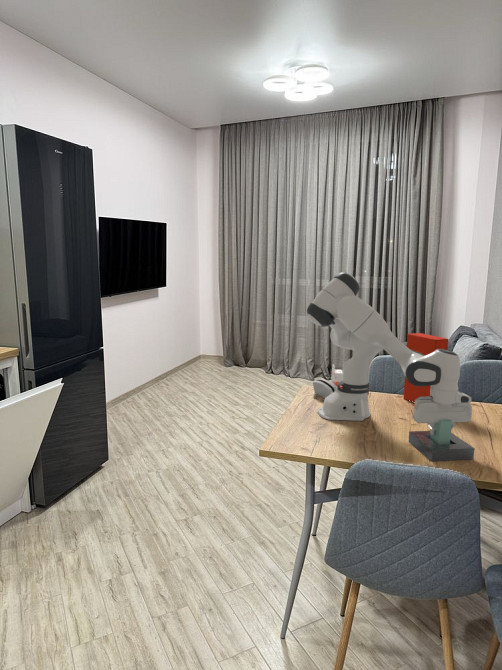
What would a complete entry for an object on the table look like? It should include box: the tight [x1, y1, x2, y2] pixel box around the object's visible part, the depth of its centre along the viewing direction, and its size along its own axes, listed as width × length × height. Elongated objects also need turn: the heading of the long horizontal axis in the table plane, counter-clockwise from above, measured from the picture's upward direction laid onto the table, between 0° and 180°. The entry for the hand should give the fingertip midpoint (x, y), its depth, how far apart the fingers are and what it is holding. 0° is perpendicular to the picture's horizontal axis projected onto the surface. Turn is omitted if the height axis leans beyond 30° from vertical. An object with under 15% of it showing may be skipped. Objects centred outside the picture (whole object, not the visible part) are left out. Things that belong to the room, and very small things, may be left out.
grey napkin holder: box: [312, 378, 337, 399], centre depth 226 cm, size 17×5×10 cm, turn 25°
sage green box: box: [430, 420, 452, 445], centre depth 164 cm, size 4×6×10 cm, turn 7°
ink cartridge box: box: [330, 363, 343, 389], centre depth 232 cm, size 9×5×15 cm, turn 178°
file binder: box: [403, 332, 449, 403], centre depth 218 cm, size 8×17×32 cm, turn 24°
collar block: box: [408, 430, 475, 462], centre depth 165 cm, size 15×17×4 cm
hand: (440, 433), depth 165 cm, fingers closed on sage green box, 4 cm apart
